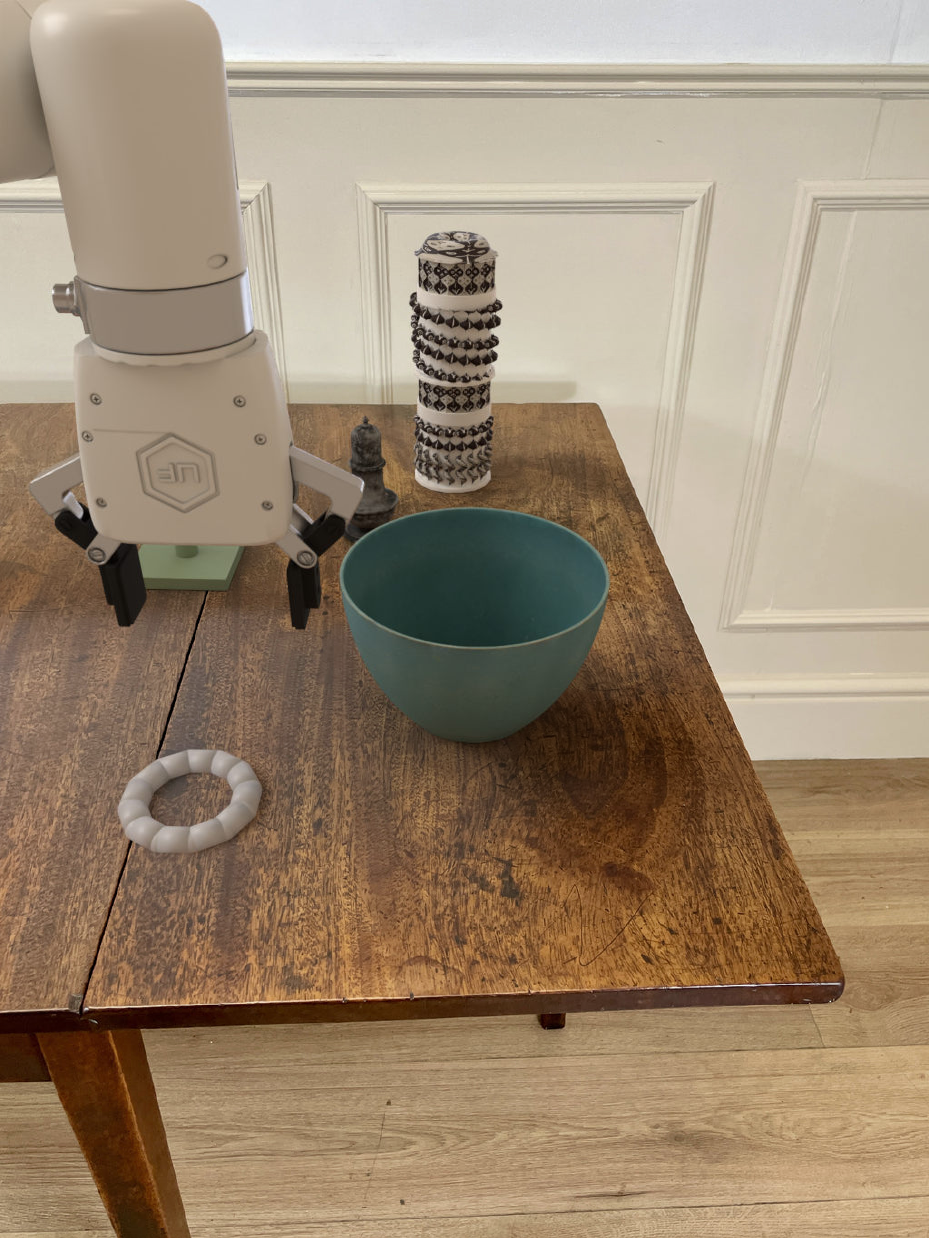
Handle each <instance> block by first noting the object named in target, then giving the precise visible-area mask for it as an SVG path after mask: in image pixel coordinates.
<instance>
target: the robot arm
mask: <svg viewBox="0 0 929 1238" xmlns="http://www.w3.org/2000/svg"><path fill="white" fill-rule="evenodd" d="M223 46H224V45H223V41H222V36H221V34H220V31H219V28H218V26H217V24H216V22H215V20H214V19H213V18H212V16H211V15H210V13H209V12H208V11H206V9H204V8H203V7H202V6H200V5H199V4H197V3H195V2H192V1H190V0H0V185H3V184H9V183H15V182H21V181H26V180H27V181H28V180H29V181H32V180H40V179H46V178H47V179H48V178H52V177H53V178H54V177H57V183H58V187H59V192H60V198H61V202H62V207H63V212H64V215H65V216H64V217H65V222H66V226H67V227H66V228H67V233H68V238H69V241H70V247H71V250H72V253H73V261H74V266H75V271H76V274H75V276H74V277H73V280H70V281H69V282H68V283H54V284H53V286H52V289H51V291H52V292H51V297H52V305H53V307H54V309H55V311H56V312H57V313H58V314H72V316H74V317H75V318H76V317H78V318H80V320H81V322H82V327H83V331H84V334H85V335H88V336H86V337H85V338H84V339H82V340H81V341H79V342H78V343H76V344H75V346H74V348H73V394H74V395H73V396H74V410H75V422H76V423H75V424H76V432H77V444H78V452H76V453H74V454H72V455H71V456H69V457H66V458H65V459H63V460H61V461H59V462H57V463H55V464H53V465H51V466H50V467H47V468H46V469H44V470H42V471H40V472H38V474H37V475H36V476H35V477H34V478H33V479H32V480H31V481H30V483H29V484H28V487H27V488H28V489H27V490H28V492H29V493H30V495H31V496H32V498H33V499H34V500H35V501H36V502H37V504H38V505H39V506H40V507H41V508H42V509H43V511H44V512H45V513H46V514H47V515H48V517H51V518H52V519H53V520H54V526H55V528H56V530H57V531H58V532H59V533H60V534H62V535H63V536H64V537H66V538H67V539H69V540H70V541H72V542H73V543H74V544H76V545H77V546H78V547H80V548H81V549H82V550H84V551H85V554H84V555H85V557H86V559H87V561H89V562H90V563H91V564H93V565H96V566H98V570H99V574H100V578H101V584H102V587H103V592H104V595H105V599H106V600H105V601H106V603H107V605H109V606H113V609H114V613H115V617H116V621H117V625H118V627H120V628H130V627H131V626H132V625H134V624H135V623H136V621H137V619H138V617H139V615H140V613H141V611H142V609H143V608H144V606H145V604H146V602H147V598H148V593H147V589H146V588H145V583H144V579H143V574H142V569H141V564H140V559H139V554H138V551H139V550H138V545H142V544H147V545H195V546H245V547H255V546H256V547H257V546H266V545H270V544H275V545H276V546H277V547H278V548H279V549H280V550H281V551H282V552H283V553H284V554H285V555H286V556H288V557H289V560H288V563H287V567H286V571H285V572H286V573H285V575H286V576H285V577H286V585H287V594H288V595H287V596H288V605H289V614H290V624H291V627H292V628H294V629H295V630H298V631H300V630H301V631H304V630H305V631H306V628H307V625H308V620H309V617H310V613H311V610H313V609H315V610H318V609H320V607H321V601H322V583H321V582H322V581H321V571H320V557H321V556H322V555H324V554H325V553H326V552H327V551H328V550H329V549H330V548H331V547H333V545H334V544H336V543H337V542H338V541H339V540H340V539H341V538H342V537H344V532H345V529H346V527H347V526H348V524H349V522H350V521H351V519H352V517H353V515H354V513H355V511H356V509H357V507H358V505H359V503H360V502H361V500H362V496H363V492H364V487H365V484H364V482H363V480H362V479H361V478H359V477H357V476H355V475H353V474H352V472H349V471H347V470H345V469H342V468H341V467H339V466H336V465H334V464H332V463H330V462H328V461H326V460H324V459H321V458H320V457H317V456H315V455H313V454H311V453H309V452H308V451H305V450H303V449H300V448H298V447H297V446H295V442H294V436H293V429H292V427H291V426H292V425H291V420H290V414H289V409H288V405H287V401H286V396H285V390H284V387H283V381H282V378H281V374H280V371H279V366H278V363H277V361H276V357H275V354H274V350H273V348H272V347H273V346H272V345H271V342H270V338H269V336H268V333H266V332H265V331H264V330H261V329H256V328H255V321H254V315H253V314H254V313H253V303H252V293H251V286H250V277H249V267H248V264H247V263H248V262H247V261H248V260H247V252H246V242H245V232H244V224H243V223H244V222H243V214H242V205H241V196H240V187H239V180H238V171H237V162H236V161H237V159H236V153H235V143H234V134H233V123H232V114H231V106H230V96H229V95H230V94H229V85H228V77H227V69H226V68H227V66H226V60H225V54H224V47H223ZM81 484H83V486H84V492H85V497H86V503H87V505H85V504H83V502H80V501H77V499H75V498H76V496H75V494H73V492H72V490H71V489H73V488H75V487H77V486H79V485H81ZM300 485H302V486H304V487H307V488H308V489H310V490H313V491H315V492H317V493H319V494H322V495H324V496H326V497H327V498H328V499H329V500H330V502H331V503H330V505H329V507H328V508H327V509H326V510H325V511H324V512H322V513H321V515H320V516H319V517H317V518H316V519H315V520H313V519H312V518H311V517H310V516H309V515H308V514H307V513H306V512H305V511H304V510H303V509H302V508H301V507H300V506H299V505H298V504H297V502H298V499H299V493H300Z"/></svg>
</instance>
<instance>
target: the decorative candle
mask: <svg viewBox="0 0 929 1238" xmlns="http://www.w3.org/2000/svg"><path fill="white" fill-rule="evenodd" d="M414 256H416V257H417V258H418V259H417V260H418V264H417V265H418V267H417V268H418V271H417V275H418V278H417V279H418V280H417V282H416V291H414V292H413V293H411V294H410V296H409V298H410V299H409V301H408V305H409V307H411V309H412V312H413V314H411V316H410V320H411V321H410V327H411V329H413V330H412V332H411V334H412V335H411V336H410V340H411V342H412V343H413V347H414V349H413V351H412V355H413V356H412V362H413V363H415V365H414V376H415V377H416V378H418V396H416V398H417V399H416V402H417V403H416V408H417V409H416V412H415V415H414V417H413V422H414V424H415V430H414V431H413V436H415V439H416V441H415V444H414V445H413V453H414V455H415V457H414V459H413V465H414V467H415V470H414V474H415V475H414V479H415V481H416V482H417V483H418V484H419V485H420V486H421V487H424V488H426V489H428V490H430V491H433V492H440V493H445V494H463V493H469V492H474V491H478V490H480V489H482V488H484V487H486V486H487V485H488V484H489V482H490V481H491V480H492V475H491V470H492V467H493V466H492V465H491V464H492V463H493V460H492V459H491V457H492V456H493V452H492V451H493V449H494V447H493V446H492V445H491V441H492V440H493V437H494V436H493V435H494V431H493V429H492V427H493V426H494V419H495V418H494V416H493V415H492V398H491V381H492V380H493V379H494V378H495V377H496V368H495V365H493V363H495V362H497V361H498V357H499V354H498V353H497V351H495V350H494V348H495V347H498V346H499V345H500V340H499V337H498V336H497V335H495V334H494V333H492V329H495V328H498V327H499V326H501V324H502V318H501V317H500V316H498V315H497V312H500V311H501V310H502V309H503V307H504V305H503V303H502V301H501V300H500V299H498V298H497V286H496V263H497V261H496V260H497V258H498V257H499V253H498V251H496V250H494V249H492V247H491V245H490V243H489V242H488V239H487V238H486V237H485V236H483V235H481V234H479V233H475V232H470V231H464V230H463V231H461V230H447V231H439V232H435V233H434V232H433V233H432V234H430V235H429V236H427V237H426V238H425V240H424V241H423V243H422V245H421V246H420V247H419V248H417V249H415V250H414Z"/></svg>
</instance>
